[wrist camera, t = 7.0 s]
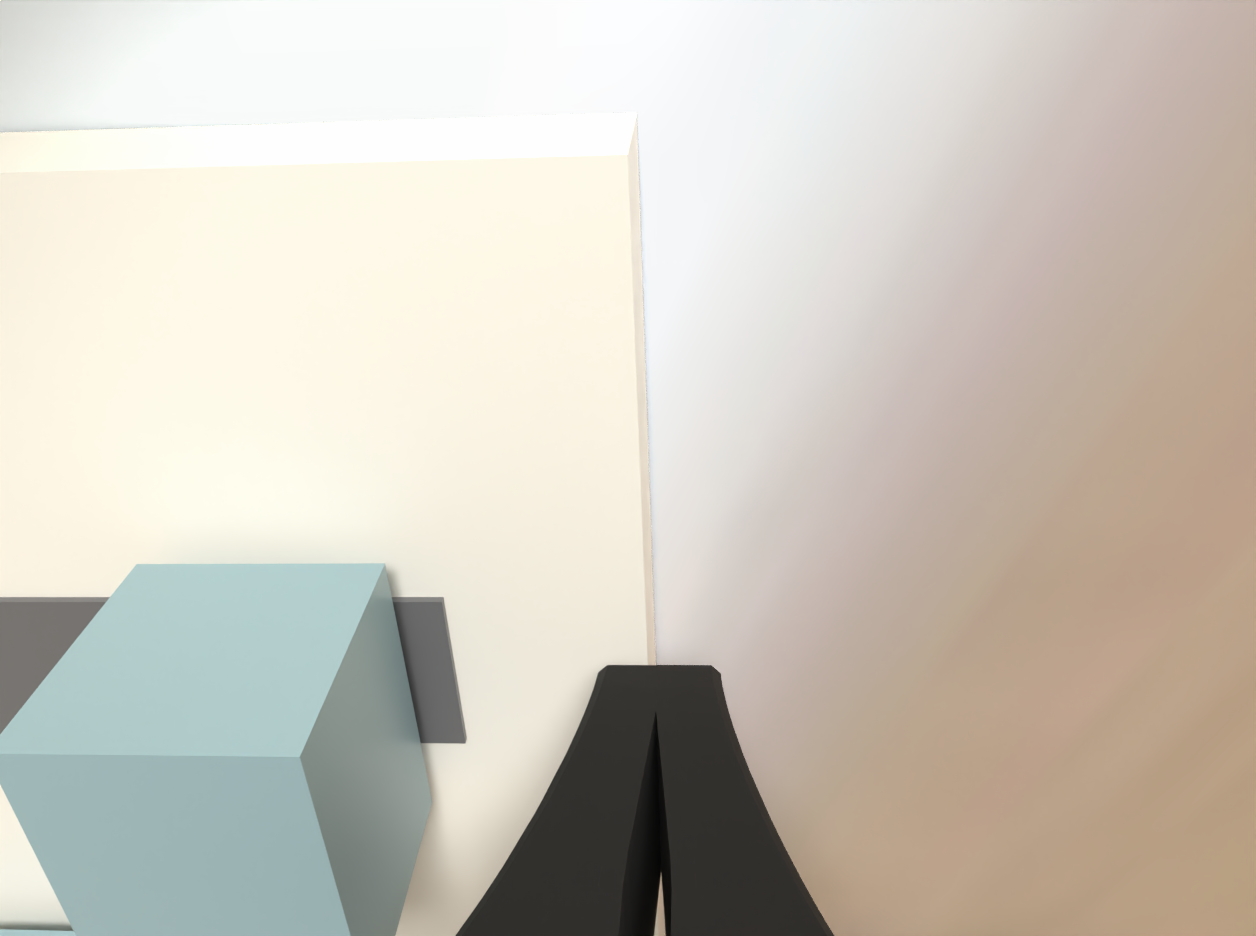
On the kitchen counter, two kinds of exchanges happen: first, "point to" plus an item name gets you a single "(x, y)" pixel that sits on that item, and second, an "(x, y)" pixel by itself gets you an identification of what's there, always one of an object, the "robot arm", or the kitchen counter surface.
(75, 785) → the tab
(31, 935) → the tab
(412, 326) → the switch panel
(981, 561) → the kitchen counter surface
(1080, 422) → the kitchen counter surface
